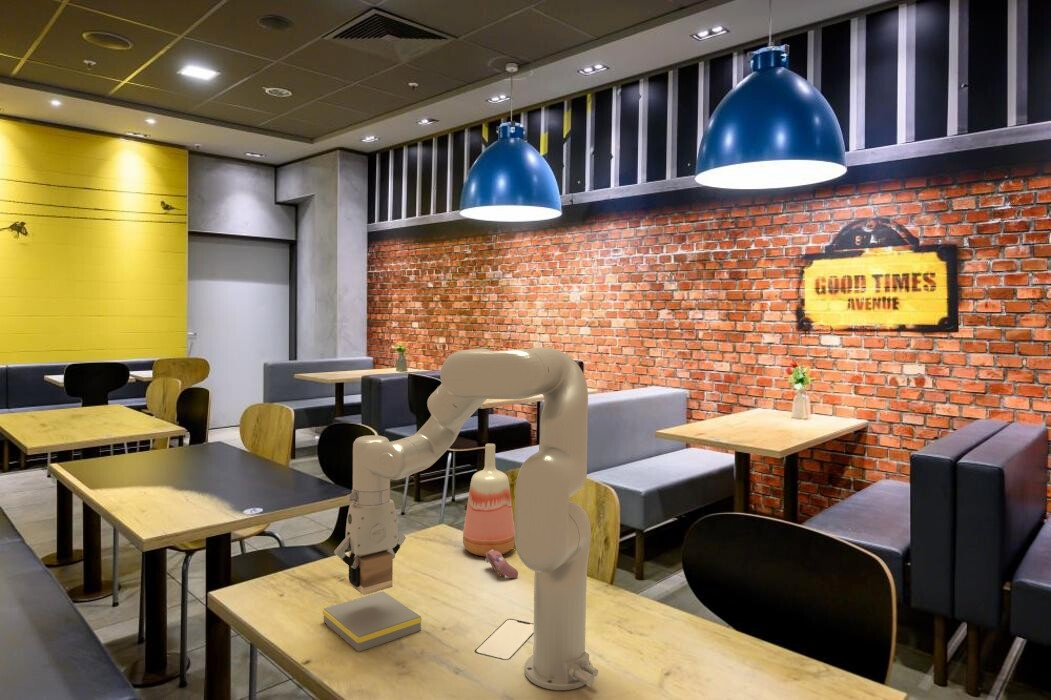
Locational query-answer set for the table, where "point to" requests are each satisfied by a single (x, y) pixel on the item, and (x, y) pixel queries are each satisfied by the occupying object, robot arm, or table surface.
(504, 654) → the smartphone
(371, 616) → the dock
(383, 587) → the brown wooden block
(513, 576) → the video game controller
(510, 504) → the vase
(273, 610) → the table surface
